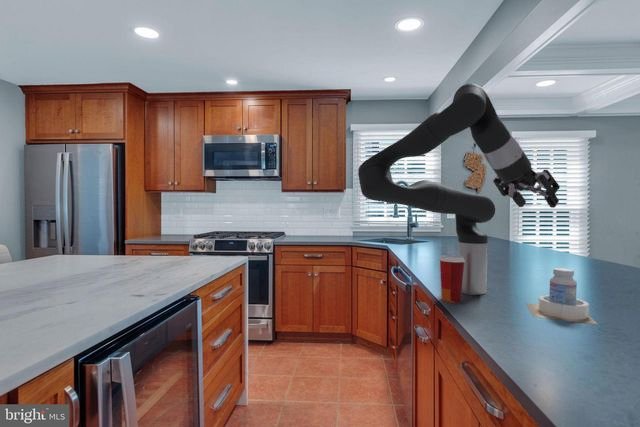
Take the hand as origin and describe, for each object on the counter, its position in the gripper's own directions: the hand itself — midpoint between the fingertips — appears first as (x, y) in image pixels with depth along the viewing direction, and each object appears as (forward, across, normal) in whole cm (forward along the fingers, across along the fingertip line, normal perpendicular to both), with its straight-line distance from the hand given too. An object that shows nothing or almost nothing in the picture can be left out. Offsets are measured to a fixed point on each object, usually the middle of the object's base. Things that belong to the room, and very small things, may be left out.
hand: (538, 205), depth 88 cm
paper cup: (+17, -24, -26) cm, 39 cm away
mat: (+30, -3, -12) cm, 33 cm away
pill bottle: (+30, -2, -11) cm, 32 cm away
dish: (+31, -2, -12) cm, 33 cm away
